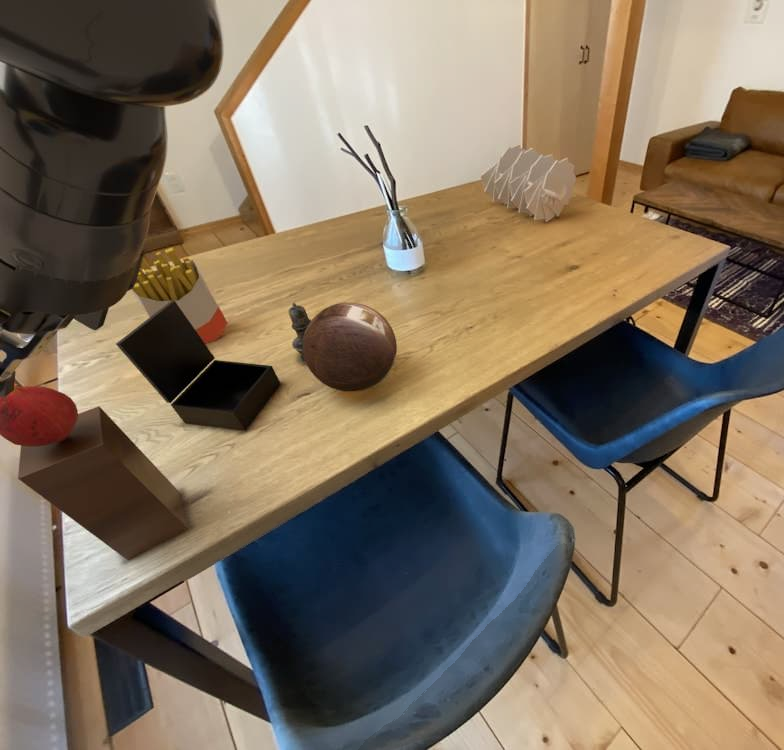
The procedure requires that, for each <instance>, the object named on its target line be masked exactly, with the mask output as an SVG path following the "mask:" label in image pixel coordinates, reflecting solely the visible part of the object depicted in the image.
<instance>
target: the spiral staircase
mask: <svg viewBox="0 0 784 750" xmlns="http://www.w3.org/2000/svg"><path fill="white" fill-rule="evenodd" d="M575 167H576V165H575V164H573V163H571V162H570V161H569V157H565V158H563V159H561V160H558V159H555V158H554V154H552V153H551V154H548V155H545V156H544V154H542V152H540V151H535V150H534V147H531V148H529V149H525V148H522V147H521V143H518V144H515V145H514V146H511V145H508V146H507V147H506V149H505V150H504V152H503V153H502V154H501V156H499V157H498V161H497V162H495V163H494V164H493V165H492V166H491V167H489V168H488V169H486V170H485V171H484V172H482V173H481V174H480V180H481V182H482V185H483V189H484V190H483V193H485V194H486V195H487V196H488V197H490V198H491V199H492V201H491V202H492V203H503V205H504V206H505V205H506V209H513V208H516V209H518V212H517V213H518V214H528V216H529V218H530V217H532V216H533V220H534V221H536V220H537V221H538V220H544V222H545V223H548V222H549V221H550V220H552V218H554V217H555V216H556V217H559V216H560V215H561V213H562V210H563V209H564V207H565V206H566V205H567V206H568V205H569V203H570V199H571V198H572V197H574V184H575V183H576V181H577V179H578V178H577V177H576V174H575V172H574V171H575Z"/></svg>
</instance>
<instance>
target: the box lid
mask: <svg viewBox="0 0 784 750" xmlns="http://www.w3.org/2000/svg"><path fill="white" fill-rule="evenodd" d="M115 346H117V348H118V349H119V350H120V351H121V352H122V353H123V354H124V355H125V356H126V357H127V359H128V360H129V362H131V363H132V365H133V366H134V367H135V368H136V369H137V370H138V372H140V374H141V375H142V376H143V378H145V379H146V380H147V382H148V383H149V384H150V385H151V386H152V387H153V389H154V390H155V391H156V392H157V393H158V394H159V396H160V397H161V398H162V399H163V400H164V401H165V403H167V404H172V403H173V402H174V401H175V400H176V399H177V398H178V397H179V396H180V395H181V394H182V393H183V392H184V391H185V390H186V389H187V388H188V387H189V386H190V385H191V384H192V383H193V381H194V380H195V379H196V378H197V377H198V376H199V375H200V374H201V373H202V372H203V371H204V370H205V369H206V368H207V367H208V366H209V365H210V364H211V363H212V362H213V361H214V360H216V358H215V356H214V354H213V353H212V351H211V350H210V348H209V347H208V346H207V344H206V343H204V342H203V340H202V339H201V337H200V336H199V335H198V333H197V332H196V330H195V329H194V327H193V326H192V325H191V323H190V322H189V320H188V319H187V317H186V316H185V315H184V313H183V312H182V310H181V309H180V307H179V306H178V305H177V303H176V302H175V301H170V302H169V303H168V304H167V305H165V306H164V307H163V308H161V309H160V310H159V311H158V312H156V313H155V314H154V315H152V316H151V317H150V318H149V317H148V318H147V319H146V320H144V321H143V322H142V323H140V324H139V325H138V326H137V327H135V328H134V329H133V330H132V331H130V332H129V333H128V334H127V335H125V336H124V337H123V338H121V339H120V340H119V341H118V342H116V343H115Z"/></svg>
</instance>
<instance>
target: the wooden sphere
mask: <svg viewBox="0 0 784 750" xmlns="http://www.w3.org/2000/svg"><path fill="white" fill-rule="evenodd" d="M310 320H311V322H310V323H309V325H308V327H307V329H306V331H305V334H304V338H303V354H304V358H305V361H306V364H305V365H306V366H307V368H308V369H309V372H310V373H311V374H312V375H313V376H314V377H315V379H317V380H318V381H319V382H320V383H322V384H323V385H325V386H327V387H329V388H331V389H333V390H336V391H341V392H348V393H349V392H350V393H351V392H361V391H364V390H368V389H371V388H372V387H374V386H376V385H378V384H379V383H381V382H382V380H384V379H385V378H386V377H387V376H388V374H389V373H390V371H391V370H392V368H393V366H394V364H395V362H396V358H397V350H398V345H397V338H396V335H395V332H394V330H393V328H392V325H391V324H390V323H389V322H388V320H387V319H386V318H385V317H384V315H382V314H381V313H380V312H379V311H378V310H376V309H374V308H372V307H370V306H368V305H366V304H363V303H358V302H340V303H339V302H338V303H336V304H332V305H330V306H328V307H325V308H323V309H322V310H321V311H319V312H318V313H317V314H316V315H315V316H314V317H313V318H312V319H310Z"/></svg>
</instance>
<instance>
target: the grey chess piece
mask: <svg viewBox="0 0 784 750" xmlns="http://www.w3.org/2000/svg"><path fill="white" fill-rule="evenodd" d="M288 316H289V318H290V320H291V323H292V324H291V328H292V330H294V331H295V334H296V337H295V338H294V339H293V341H292V343H291V345H292V348H293V349H294V350H295V351H297V353H298V354H299V360H300V362H301V363H302V364H304V365H307V364H306V361H305V358H304V354H303V338H304V334H305V331H306V329H307V327H308V325H309V323H310V322H311V320H312V319H311V318H309V315H308V313H307V311H306V308H305V307H304V306H302V305H299V304H298V305H297V303H295V302H292V306H291V307H290V308H289V310H288Z"/></svg>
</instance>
